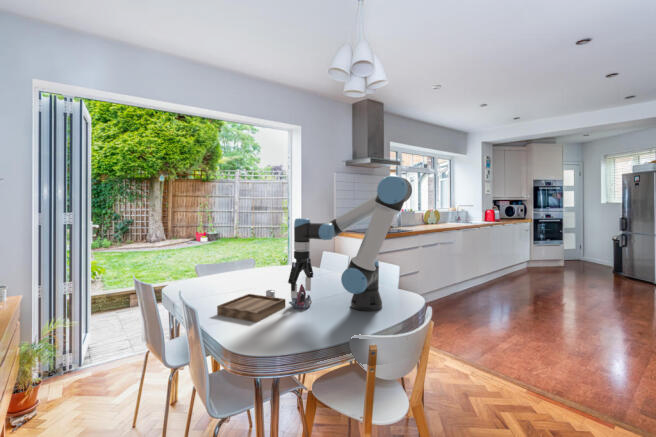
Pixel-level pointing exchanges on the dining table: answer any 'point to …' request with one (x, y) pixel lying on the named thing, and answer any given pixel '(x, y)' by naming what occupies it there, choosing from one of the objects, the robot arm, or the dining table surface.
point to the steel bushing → (270, 293)
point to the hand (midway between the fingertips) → (301, 293)
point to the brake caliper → (301, 300)
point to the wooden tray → (251, 307)
